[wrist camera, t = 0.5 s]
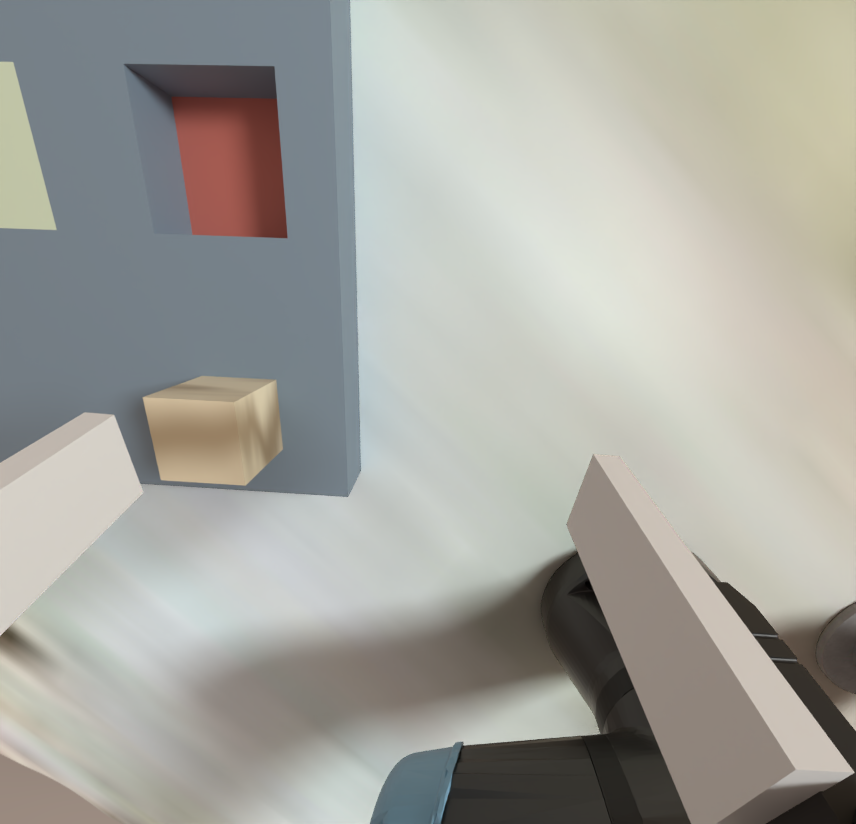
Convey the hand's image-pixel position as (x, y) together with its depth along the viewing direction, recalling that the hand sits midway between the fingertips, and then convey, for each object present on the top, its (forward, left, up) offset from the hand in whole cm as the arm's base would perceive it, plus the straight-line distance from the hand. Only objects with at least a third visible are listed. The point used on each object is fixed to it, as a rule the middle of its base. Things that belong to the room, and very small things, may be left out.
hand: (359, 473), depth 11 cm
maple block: (-4, +11, -14) cm, 18 cm away
